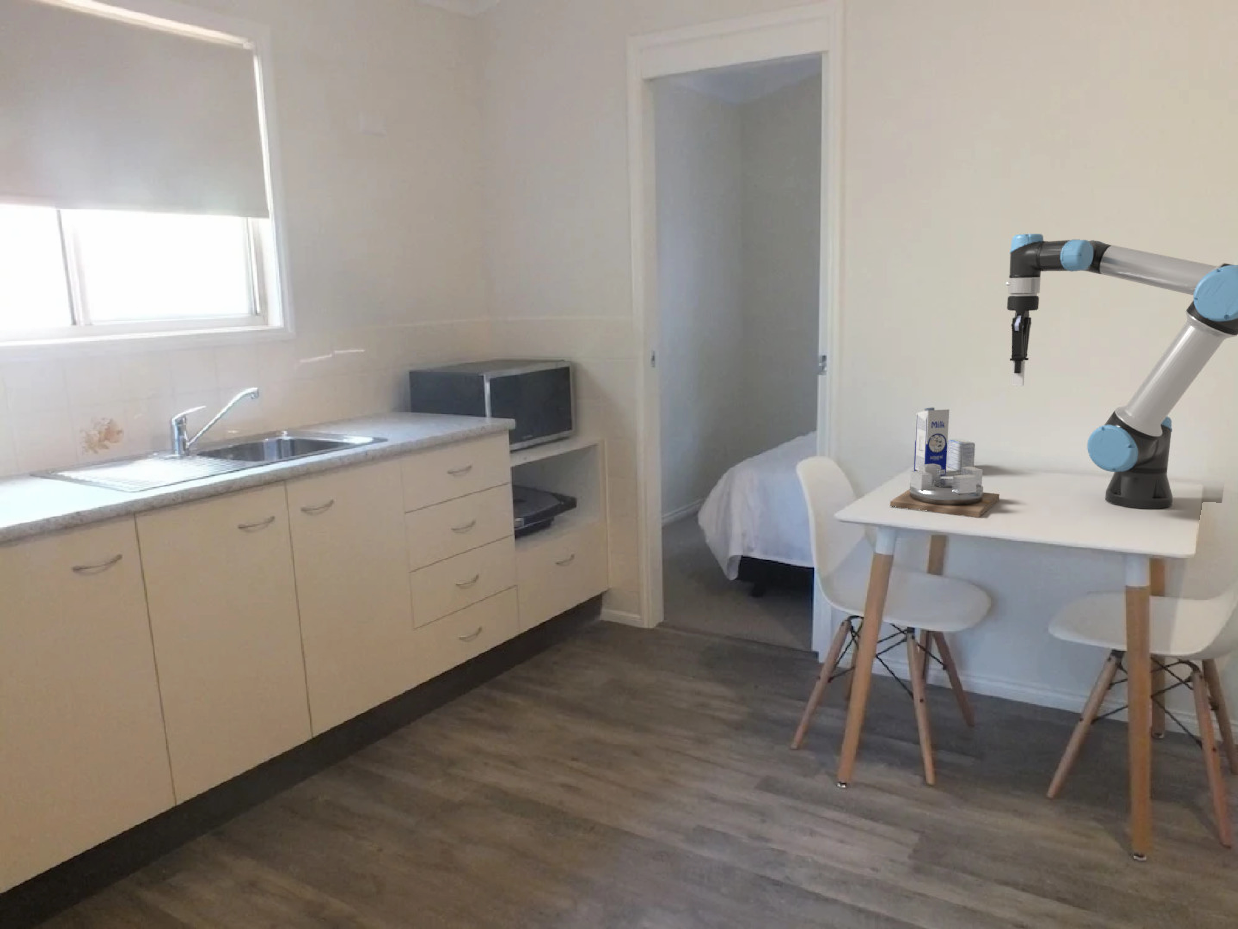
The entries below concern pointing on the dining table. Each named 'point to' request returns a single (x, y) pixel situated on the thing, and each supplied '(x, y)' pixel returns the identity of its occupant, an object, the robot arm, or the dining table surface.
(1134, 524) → the dining table surface
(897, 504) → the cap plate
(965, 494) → the notched metal disc
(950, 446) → the medicine box
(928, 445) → the milk carton
